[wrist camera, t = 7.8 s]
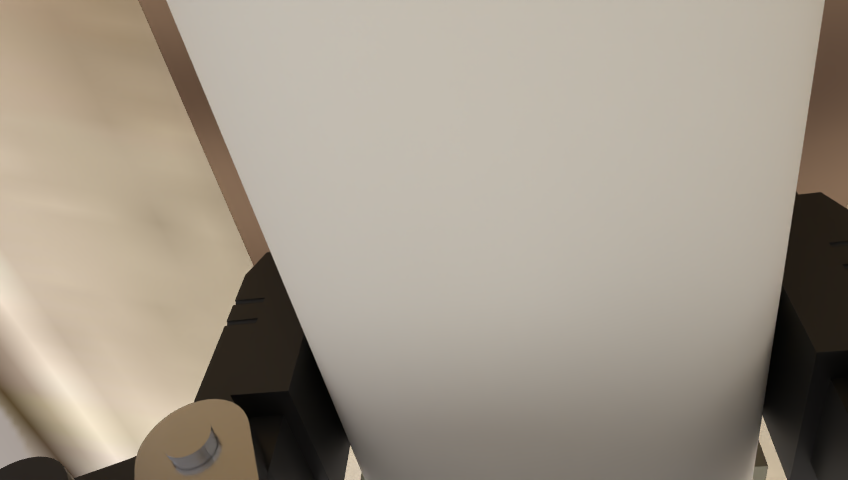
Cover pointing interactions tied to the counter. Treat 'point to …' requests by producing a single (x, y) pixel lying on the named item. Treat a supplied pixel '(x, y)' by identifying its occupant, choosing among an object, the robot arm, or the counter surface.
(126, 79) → the counter surface
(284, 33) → the roll
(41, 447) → the counter surface
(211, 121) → the cradle
